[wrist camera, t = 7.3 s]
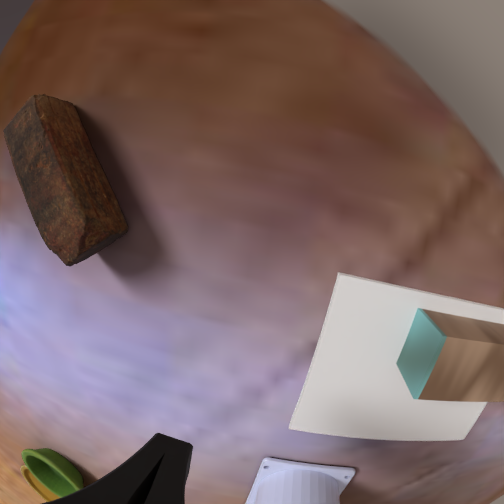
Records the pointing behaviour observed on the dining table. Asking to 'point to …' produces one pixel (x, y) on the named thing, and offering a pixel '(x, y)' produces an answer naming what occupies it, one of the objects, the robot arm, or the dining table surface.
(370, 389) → the white mat
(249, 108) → the dining table surface
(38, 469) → the tableware set
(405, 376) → the walnut block
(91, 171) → the brick
